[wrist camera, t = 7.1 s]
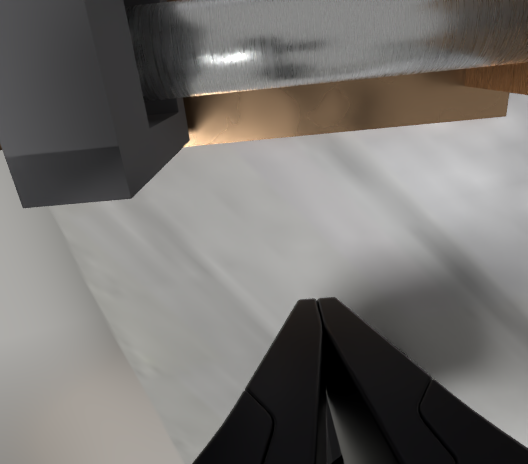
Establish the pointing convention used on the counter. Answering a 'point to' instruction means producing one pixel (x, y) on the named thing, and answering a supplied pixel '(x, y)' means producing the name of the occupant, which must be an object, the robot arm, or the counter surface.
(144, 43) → the pipe rig
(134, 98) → the collar
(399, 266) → the counter surface
